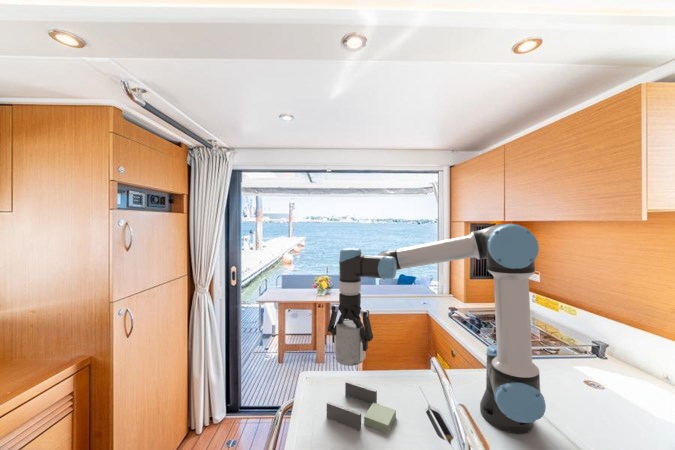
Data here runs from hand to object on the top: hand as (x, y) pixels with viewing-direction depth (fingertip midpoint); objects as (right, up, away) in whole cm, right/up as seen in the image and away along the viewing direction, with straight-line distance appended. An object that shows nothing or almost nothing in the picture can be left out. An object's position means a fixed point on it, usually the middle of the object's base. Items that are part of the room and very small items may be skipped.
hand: (349, 355), depth 100 cm
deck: (+10, -18, -7) cm, 22 cm away
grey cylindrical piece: (0, -1, 0) cm, 1 cm away
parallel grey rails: (+1, -18, -2) cm, 18 cm away
